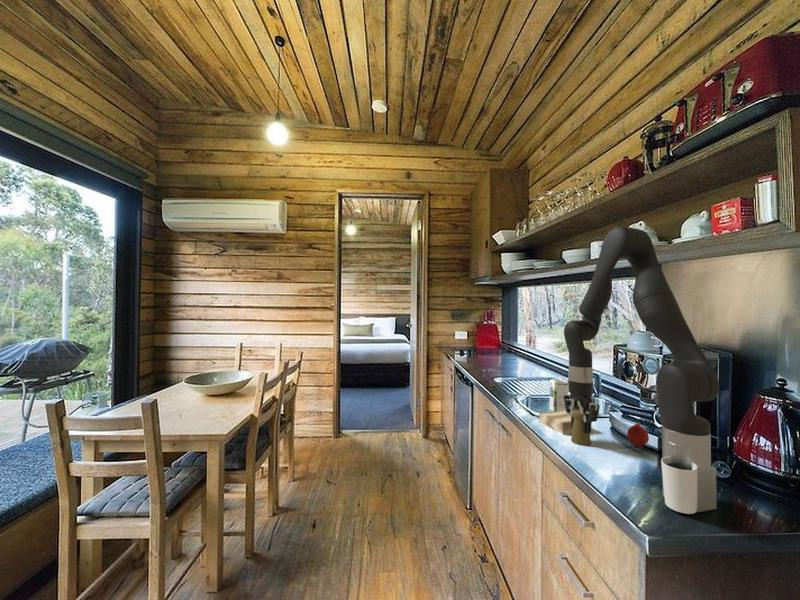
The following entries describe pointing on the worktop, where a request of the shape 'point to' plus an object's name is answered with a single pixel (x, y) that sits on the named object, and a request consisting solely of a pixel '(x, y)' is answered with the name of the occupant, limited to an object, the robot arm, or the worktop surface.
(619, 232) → the robot arm
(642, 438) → the onion
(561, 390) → the syrup box
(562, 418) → the birch block
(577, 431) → the cork
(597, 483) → the worktop surface
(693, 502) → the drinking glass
